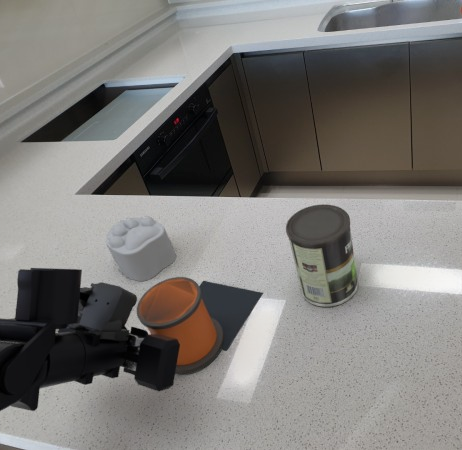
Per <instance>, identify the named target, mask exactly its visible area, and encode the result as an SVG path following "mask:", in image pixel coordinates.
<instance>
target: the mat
mask: <svg viewBox="0 0 462 450" xmlns="http://www.w3.org/2000/svg"><path fill="white" fill-rule="evenodd" d="M199 287H200V289H201V292H202V300H203V302H204V305H205V307H206V309H207V311H208V313H209V316H210V317H211V318H213V319H215V320H216V321H218V323H219V324H220V325H221V327H222V330H223V332H224V344H223V347H222V349H221V351H228V350H229V348H230V346H231V345H232V343H233V342H234V340H235V338H236V337H237V335H238V333H239V332H240V330H241V329H242V327H243V325H244V324H245V322H246V321H247V320H248V317H249V316H250V314H251V313H252V311H253V310H254V308H255V307H256V305H257V303H258V301H259V300H260V299H261V297H262V295H263V294H264V293H263V292H261V291H255V290H252V289H246V288H242V287H236V286H231V285H228V284H227V285H226V284H222V283H216V282H212V281H206V280H203V281H202V282H201V283H200V284H199Z"/></svg>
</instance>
